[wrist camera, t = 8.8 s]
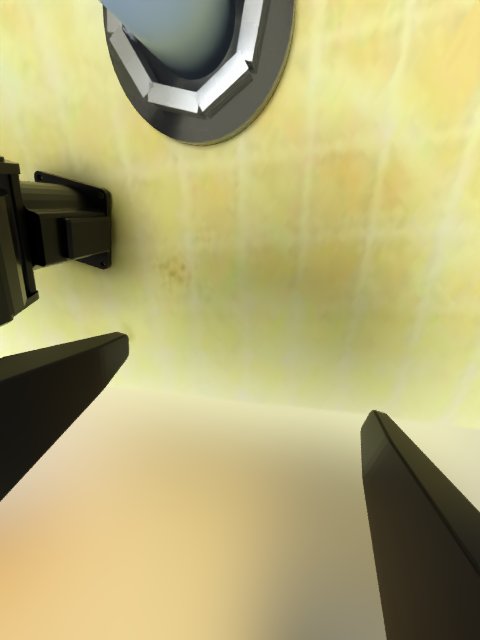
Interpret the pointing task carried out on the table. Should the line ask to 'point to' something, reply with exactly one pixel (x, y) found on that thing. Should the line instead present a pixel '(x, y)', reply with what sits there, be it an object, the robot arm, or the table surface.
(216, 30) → the knob
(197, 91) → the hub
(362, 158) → the table surface
